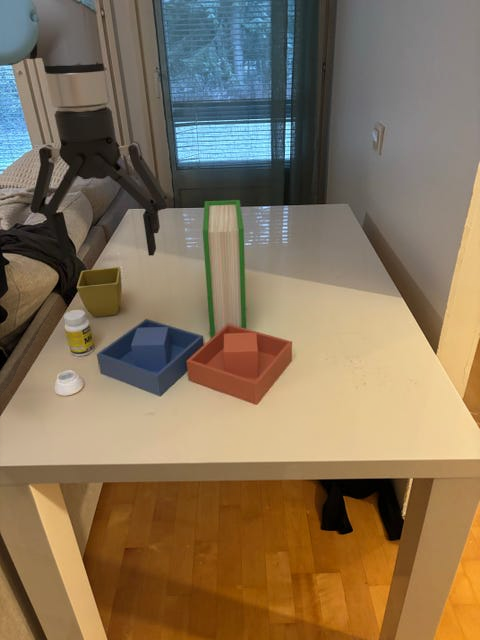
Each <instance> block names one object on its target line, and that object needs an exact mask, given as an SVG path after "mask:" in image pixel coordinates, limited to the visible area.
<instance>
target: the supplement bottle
mask: <svg viewBox="0 0 480 640" xmlns="http://www.w3.org/2000/svg"><path fill="white" fill-rule="evenodd" d="M63 318H64V323H65V324H64V331H65V335H66V339H67V343H68V348H69V351H70V353H71V355H73V356H75V357H83V356H87V355H90V354H91V353H93V351H94V350H95V343H94V337H93V333H92V329H91V324H90V321H89V320H88V318H87V315H86V312H85V311H84V310H82V309H73V310H69V311H67V312H66V313H65V314H64V315H63Z"/></svg>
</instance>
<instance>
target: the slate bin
mask: <svg viewBox="0 0 480 640" xmlns="http://www.w3.org/2000/svg"><path fill="white" fill-rule="evenodd" d="M147 327H168V329H169V336H170V344H171V352H172V353H171V357H170V362H169V363H168V364H167V365H166V366H165V367H164V368H163V369H161V370H160V371H148V370H145V369H142V368H140V367H137V366H135V364H134V359H133V353H132V348H131V344H132V341H133V338H134V335H135V333H136V330H137V328H147ZM204 340H205V339H204V335H201V334H198V333H195V332H192V331H188V330H185V329H181V328H178V327H175V326H171V325H169V324H166V323H161V322H159V321H155V320H152V319H148V318H145V319H144V320H142V321H141V322H139V323H138V324H137V325H135V326H134V327H133V328H131V329H130V330H128V331H127V332H126V333H124V334H122V335H121V336H120V337H118V338H117V339H116V340H114V341H112V342H111V343H110V344H108V345H107V346H106V347H104V348H103V349H102V350H100V351H99V352H97V353H96V358H97V362H98V367H99V372H100V375H101V374H102V375H104V376H106V377H109V378H111V379H114V380H116V381H119V382H122V383H123V384H127V385H129V386H132V387H135V388H137V389H140V390H143V391H145V392H147V393H150V394H153V395H155V396H158V397H162V396H163V395H164V394H165V393H166V392H167V391H168V390H169V389H170V388H171V387H173V385H175V383H176V382H178V380H180V379H181V378H182V377H183V376H184V375H185V374H186V373H188V370H187V360H188V359H189V358H190V357H191V356H192V355H193V354H195V353H196V352H197V351H198V350H199V349H200V348H201V347H202V346H203V345H205V341H204Z"/></svg>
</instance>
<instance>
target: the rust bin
mask: <svg viewBox="0 0 480 640" xmlns="http://www.w3.org/2000/svg"><path fill="white" fill-rule="evenodd" d="M227 333H256V336H257V347H258V378H243V377H240V376H237V375H234V374H231V373H228V372H225V368H224V334H227ZM292 356H293V341H292V340H287V339H284V338H280V337H276V336H273V335H270V334H266V333H263V332H259V331H256V330H252V329H248V328H246V329H245V328H241V327H238V326H234V325H231V324H227V325H226V326H224V327H223V328H222V329H221V330H220V331H219V332H218V333H217V334H216V335H214V336H213V337H212V338H211V339H208V341H206V343H204V345H203V346H202V347H201V348H200V349H199V350H198V351H197V352H196V353H195V354H193V355H192V356H191V357H190V358H189V359H188V360H187V370H188V371H187V378H188V381H189V382H192V383H194V384H197V385H200V386H202V387H205V388H207V389H211V390H214V391H217V392H220V393H223V394H225V395H228V396H231V397H234V398H237V399H239V400H242V401H245V402H248V403H251V404H253V405H256V406H258V404H259V403H260V402H261V401H262V399H263V398H264V397H265V396H266V394H267V393H268V392H269V390H270V389H271V388H272V386H273V385H274V384H275V383H276V382H277V380H278V379H279V378H280V377H281V375H282V374H283V372H284V371H285V370H286V369H287V368H288V366H290V364H291V362H292V360H293V359H292V358H293V357H292Z"/></svg>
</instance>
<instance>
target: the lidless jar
mask: <svg viewBox="0 0 480 640" xmlns="http://www.w3.org/2000/svg"><path fill="white" fill-rule="evenodd" d="M84 385H85V383H84V380H83V378H81V377H80V376H79V375H78V373H76V372H75V371H74V370H70V369H69V370H68V369H67V370H64V371H61V372H59V373H58V375H57V376H56V379H55V383H54V387H53V389H54V390H53V391H54V392H55V393H56V395H59V396H67V397H68V396H73V395H74V394H76V393H79V391H81V390H82V389H83V388H84Z"/></svg>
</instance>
